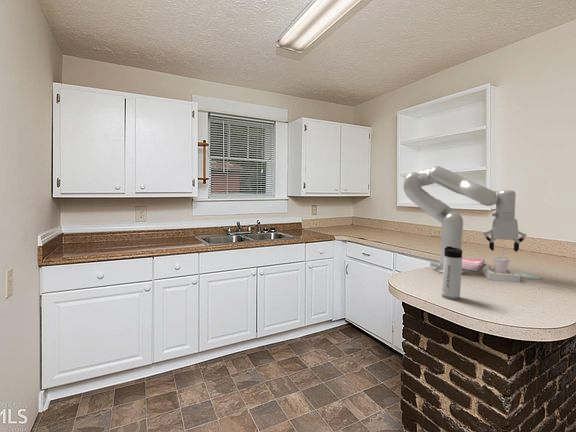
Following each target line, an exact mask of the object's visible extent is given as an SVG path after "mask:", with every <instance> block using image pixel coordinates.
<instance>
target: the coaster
mask: <svg viewBox="0 0 576 432" xmlns="http://www.w3.org/2000/svg"><path fill="white" fill-rule="evenodd" d="M516 273H517V274H518V275H519V276H520V278H523V279H527V280H528V279H529V280H542V278H543V277H542V276H541V275H539V274H536V273H530V272H516Z"/></svg>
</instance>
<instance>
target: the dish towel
mask: <svg viewBox="0 0 576 432" xmlns="http://www.w3.org/2000/svg"><path fill="white" fill-rule="evenodd" d="M484 265H485V259H484V258H480V259H476V258H475V259H474V258H473V259H470V258H463V257H462V269H461V270H463V271H464V270H465V271H471V272H478V271H479V270H480V269H481V268H482V267H483V266H484Z"/></svg>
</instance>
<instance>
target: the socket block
mask: <svg viewBox="0 0 576 432" xmlns="http://www.w3.org/2000/svg"><path fill="white" fill-rule="evenodd" d="M482 267H483V266H482ZM517 273H518V272H515V271H514V270H513V269H509V268H507V271H506V274H505V273H496V271H495V267H492V266H488V267H486V266H485V267H483V270H482V274H483V275H484V276H485V277H486V278H487V279H488V280H490V281H491V280H492V281H500V282H509V283H510V282H511V283H520V278H521V277H520V276H519V275H518V274H517Z"/></svg>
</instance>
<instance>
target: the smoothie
mask: <svg viewBox="0 0 576 432" xmlns="http://www.w3.org/2000/svg"><path fill="white" fill-rule="evenodd" d="M504 252H505V250H504V249H502V253H501V256H494V257H493V262H494V268H495V271H496V273H505V274H506V271H507V269H508V267H509V266H508V265H509V263H510V259H509V258H507V257H504V255H505V253H504Z"/></svg>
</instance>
